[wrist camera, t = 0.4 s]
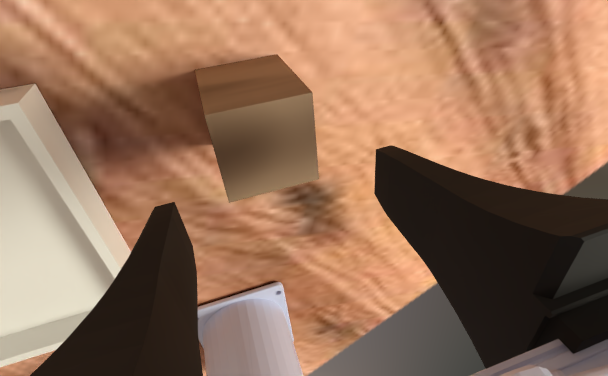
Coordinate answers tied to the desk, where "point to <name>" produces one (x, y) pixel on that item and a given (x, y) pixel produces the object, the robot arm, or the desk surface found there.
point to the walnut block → (259, 125)
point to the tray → (47, 231)
